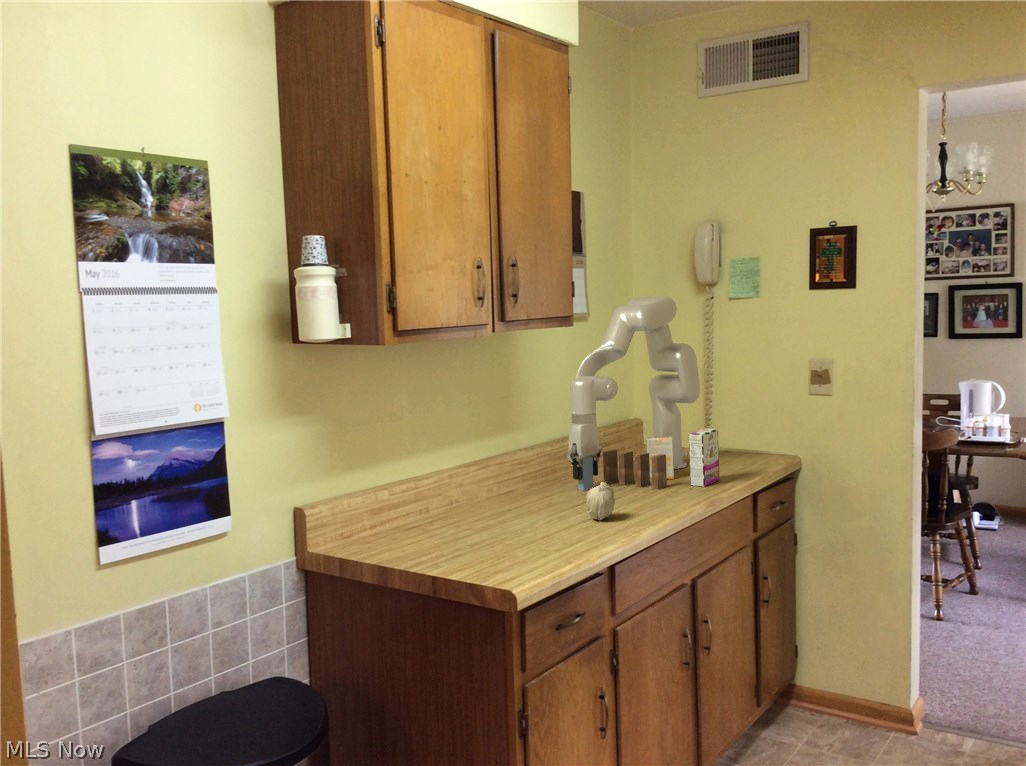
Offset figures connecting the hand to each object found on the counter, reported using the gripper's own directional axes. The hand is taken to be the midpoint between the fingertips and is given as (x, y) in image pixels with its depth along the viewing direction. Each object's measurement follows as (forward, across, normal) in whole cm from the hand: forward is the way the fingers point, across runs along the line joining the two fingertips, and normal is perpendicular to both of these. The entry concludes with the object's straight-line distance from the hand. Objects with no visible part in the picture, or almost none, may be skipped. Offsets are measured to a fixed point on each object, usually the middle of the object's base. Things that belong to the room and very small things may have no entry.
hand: (585, 476), depth 272 cm
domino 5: (+4, -13, +18) cm, 23 cm away
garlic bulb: (+4, +29, +27) cm, 40 cm away
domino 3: (+4, -13, +6) cm, 15 cm away
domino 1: (+4, 0, 0) cm, 4 cm away
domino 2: (+4, -13, 0) cm, 14 cm away
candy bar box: (+4, -26, +26) cm, 37 cm away
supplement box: (+4, -26, +10) cm, 28 cm away
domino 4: (+4, -13, +12) cm, 18 cm away
